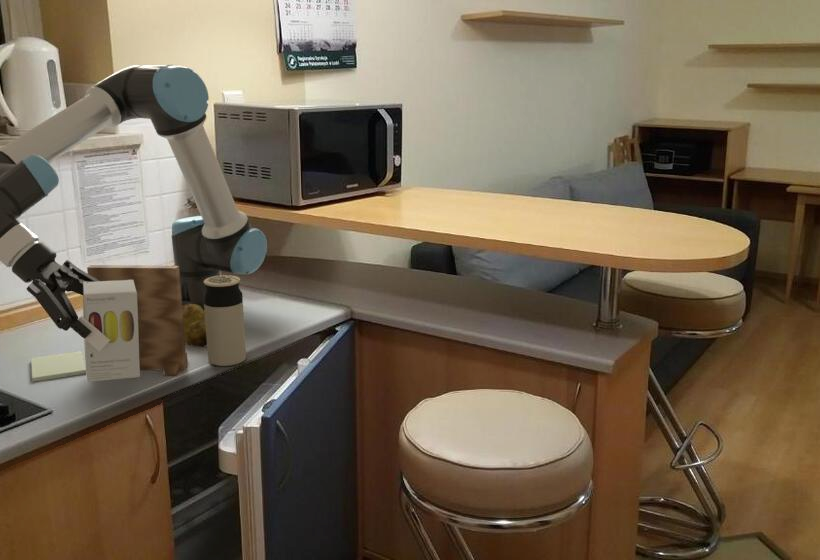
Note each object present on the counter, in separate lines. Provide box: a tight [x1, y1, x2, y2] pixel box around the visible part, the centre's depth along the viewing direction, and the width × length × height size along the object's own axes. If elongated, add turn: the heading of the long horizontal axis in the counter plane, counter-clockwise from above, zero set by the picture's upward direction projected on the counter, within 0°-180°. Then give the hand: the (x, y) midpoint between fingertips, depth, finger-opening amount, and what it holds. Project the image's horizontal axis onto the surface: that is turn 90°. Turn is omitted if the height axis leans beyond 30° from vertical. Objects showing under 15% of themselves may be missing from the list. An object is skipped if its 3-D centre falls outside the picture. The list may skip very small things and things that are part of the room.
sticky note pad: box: [30, 350, 87, 383], centre depth 165 cm, size 10×12×1 cm
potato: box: [182, 303, 207, 348], centre depth 180 cm, size 8×13×8 cm, turn 17°
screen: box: [86, 264, 188, 377], centre depth 162 cm, size 18×8×22 cm, turn 89°
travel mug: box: [204, 274, 247, 367], centre depth 167 cm, size 8×8×18 cm
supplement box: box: [82, 280, 141, 382], centre depth 148 cm, size 10×9×17 cm
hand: (118, 334), depth 148 cm, fingers closed on supplement box, 12 cm apart
